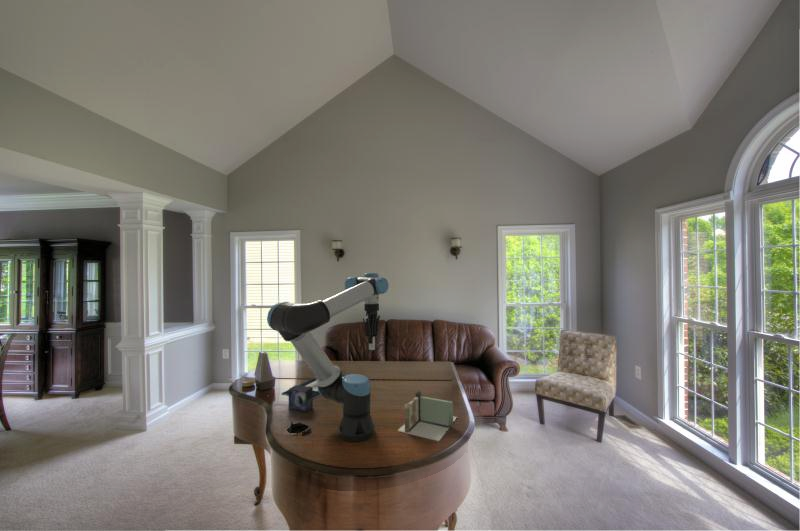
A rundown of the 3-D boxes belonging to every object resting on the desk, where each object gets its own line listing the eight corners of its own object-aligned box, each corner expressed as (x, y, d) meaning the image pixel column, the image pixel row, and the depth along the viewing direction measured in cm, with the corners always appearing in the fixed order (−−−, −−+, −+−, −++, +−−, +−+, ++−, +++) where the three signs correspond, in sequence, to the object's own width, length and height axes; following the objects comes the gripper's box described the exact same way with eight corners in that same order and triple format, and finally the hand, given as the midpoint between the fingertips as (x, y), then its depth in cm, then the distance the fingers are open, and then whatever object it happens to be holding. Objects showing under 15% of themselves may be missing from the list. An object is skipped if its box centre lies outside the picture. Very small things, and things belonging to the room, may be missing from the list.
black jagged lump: (282, 441, 134) (282, 429, 134) (279, 430, 143) (279, 419, 143) (312, 434, 139) (312, 423, 140) (307, 425, 148) (307, 414, 148)
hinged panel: (420, 419, 149) (420, 397, 149) (421, 417, 150) (421, 396, 151) (452, 426, 142) (452, 403, 142) (453, 424, 144) (453, 401, 144)
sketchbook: (281, 395, 185) (281, 391, 185) (315, 379, 212) (315, 376, 212) (311, 401, 176) (311, 397, 176) (343, 383, 203) (343, 380, 203)
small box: (287, 410, 163) (287, 389, 163) (295, 405, 169) (295, 384, 170) (305, 412, 160) (306, 391, 160) (313, 407, 166) (313, 386, 167)
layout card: (439, 441, 132) (439, 440, 132) (397, 431, 140) (397, 430, 140) (457, 417, 153) (457, 416, 153) (420, 410, 162) (420, 409, 162)
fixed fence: (408, 433, 138) (408, 401, 138) (403, 432, 139) (403, 400, 140) (422, 420, 151) (421, 390, 151) (416, 419, 152) (416, 389, 152)
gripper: (371, 304, 159) (371, 353, 158) (384, 302, 170) (384, 347, 170) (358, 303, 162) (358, 351, 162) (372, 301, 174) (372, 346, 173)
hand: (371, 349), depth 166 cm, fingers closed
